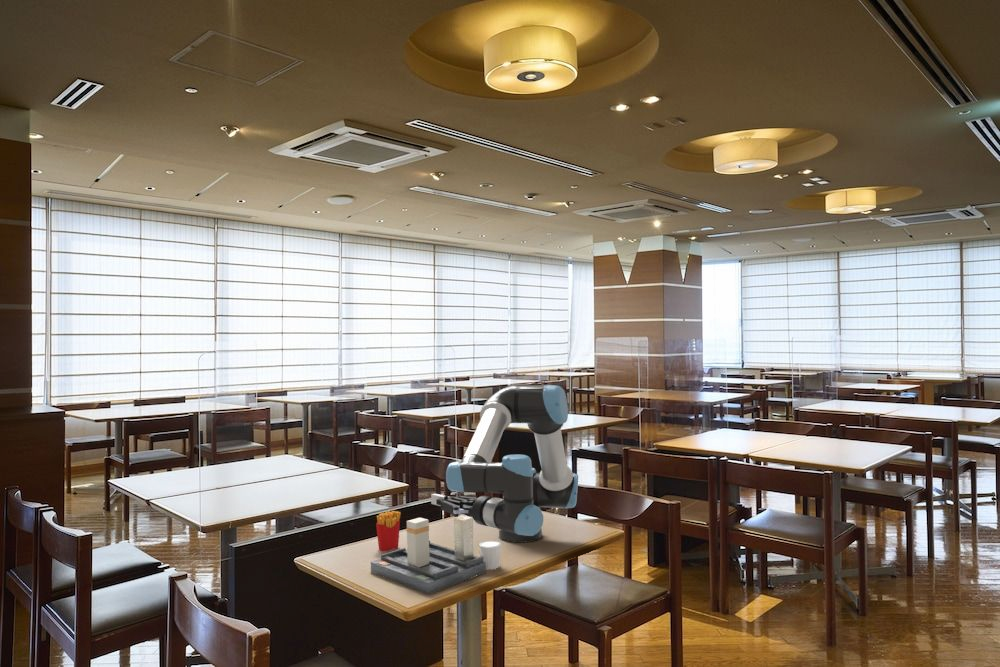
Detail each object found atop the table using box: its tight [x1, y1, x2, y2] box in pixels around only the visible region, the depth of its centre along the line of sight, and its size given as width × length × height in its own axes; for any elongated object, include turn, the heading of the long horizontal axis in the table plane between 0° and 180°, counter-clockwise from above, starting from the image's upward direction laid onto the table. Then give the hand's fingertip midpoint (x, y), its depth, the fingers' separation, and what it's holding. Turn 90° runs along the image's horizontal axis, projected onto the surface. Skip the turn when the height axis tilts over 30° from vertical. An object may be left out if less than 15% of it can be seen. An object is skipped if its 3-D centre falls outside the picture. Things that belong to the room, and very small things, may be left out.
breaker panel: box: [370, 514, 487, 595], centre depth 197 cm, size 22×27×16 cm
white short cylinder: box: [478, 540, 502, 570], centre depth 201 cm, size 7×7×7 cm
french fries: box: [375, 510, 402, 552], centre depth 222 cm, size 8×4×12 cm, turn 129°
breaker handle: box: [406, 517, 430, 567], centre depth 195 cm, size 5×4×13 cm
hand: (433, 498), depth 190 cm, fingers closed
